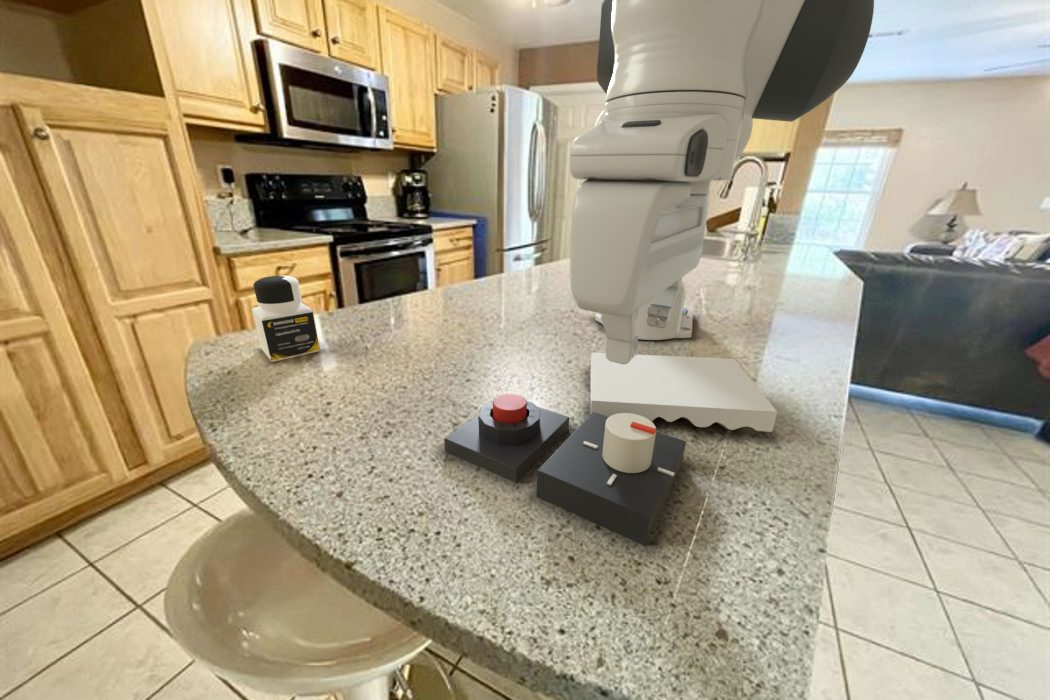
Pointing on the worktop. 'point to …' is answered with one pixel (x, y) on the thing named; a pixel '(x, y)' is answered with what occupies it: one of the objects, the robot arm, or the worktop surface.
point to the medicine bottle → (283, 319)
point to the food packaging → (680, 391)
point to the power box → (507, 440)
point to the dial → (628, 442)
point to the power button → (509, 408)
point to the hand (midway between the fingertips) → (641, 340)
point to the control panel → (609, 481)
